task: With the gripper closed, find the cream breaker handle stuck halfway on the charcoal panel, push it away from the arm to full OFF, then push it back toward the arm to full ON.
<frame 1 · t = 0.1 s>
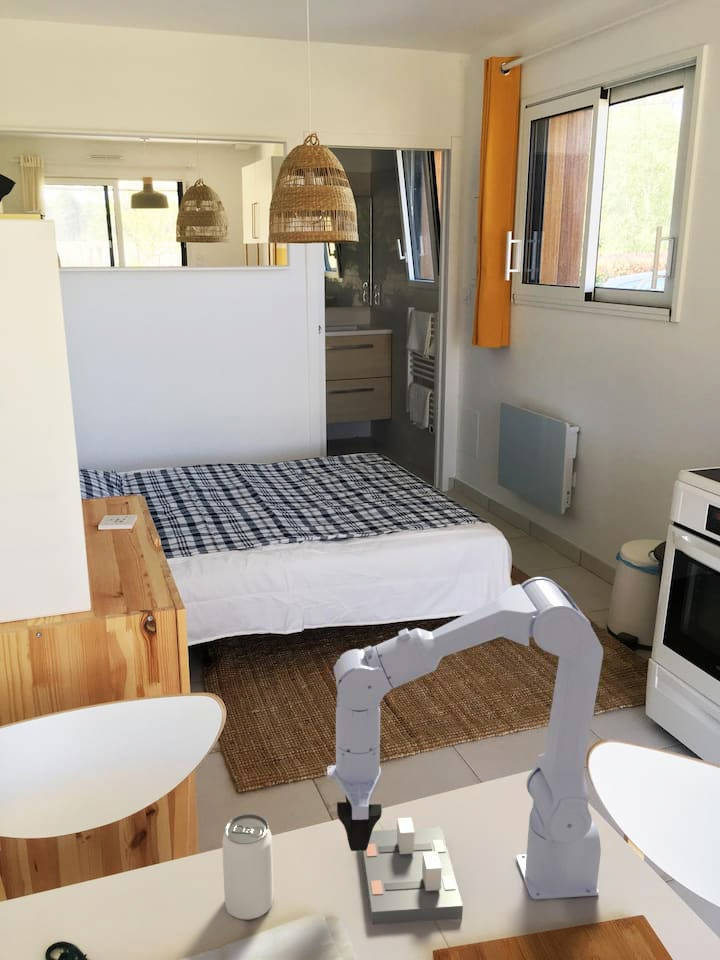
hand: (357, 828, 110), 10 cm above the table, tool pointing down, fingers open, 7 cm apart
can: (249, 903, 110), on the table
breaker tripped: (405, 835, 117), point 4 cm above the table, slide at 2.5 cm
panel: (408, 878, 115), on the table
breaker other: (431, 871, 110), point 4 cm above the table, slide at 0.0 cm
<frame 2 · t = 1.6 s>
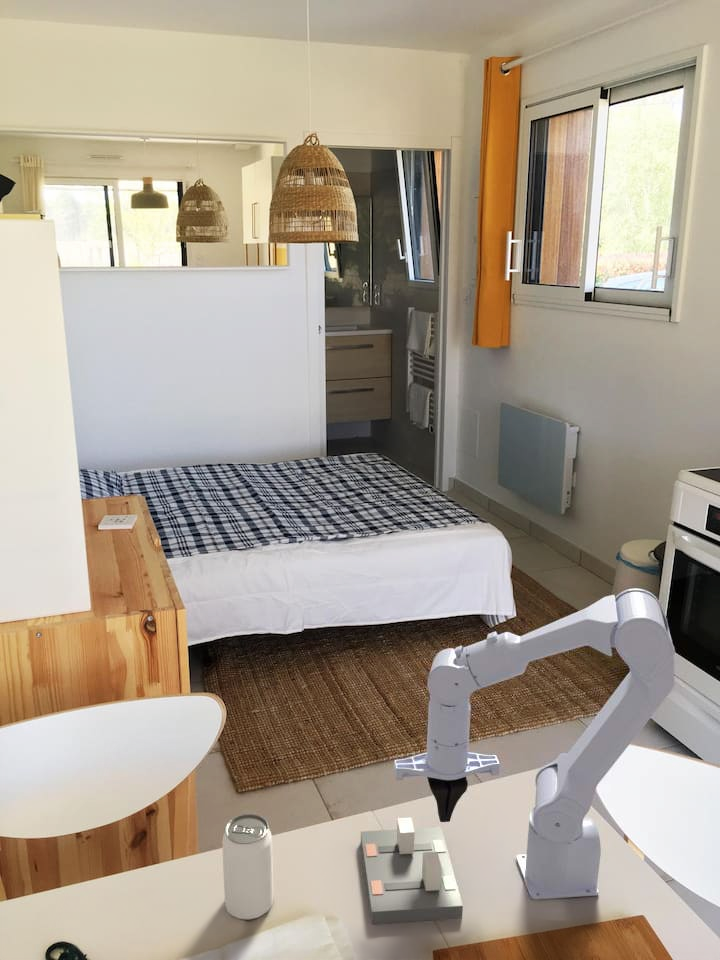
hand: (443, 817, 117), 7 cm above the table, tool pointing down, fingers closed
nothing on the table moved.
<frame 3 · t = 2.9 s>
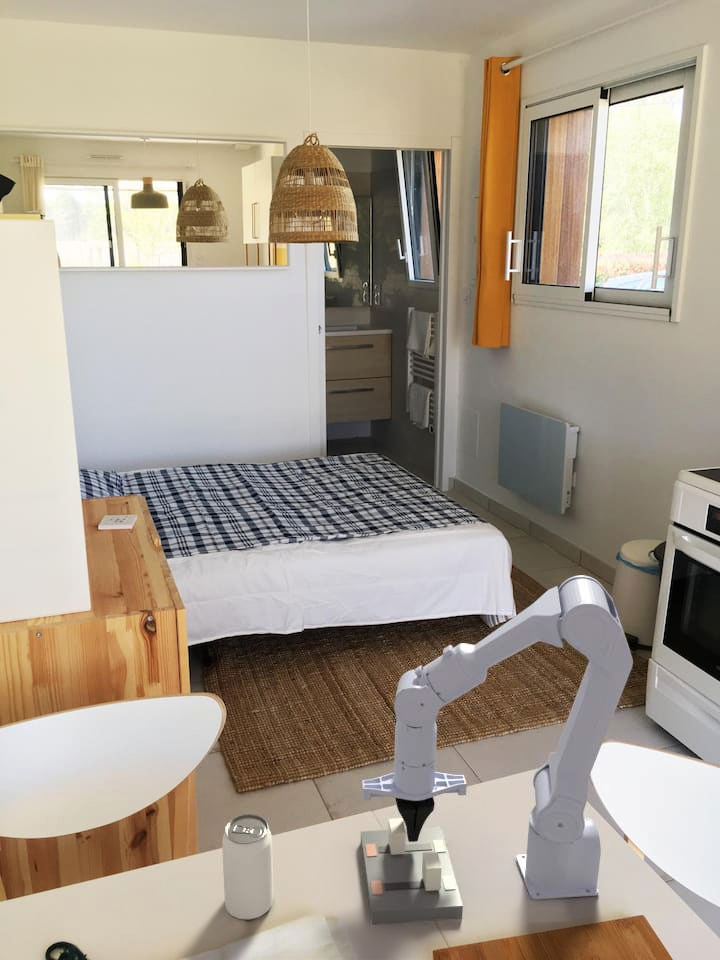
hand: (412, 836, 117), 4 cm above the table, tool pointing down, fingers closed
breaker tripped: (396, 836, 117), point 4 cm above the table, slide at 3.8 cm, touching gripper
everything else where it was.
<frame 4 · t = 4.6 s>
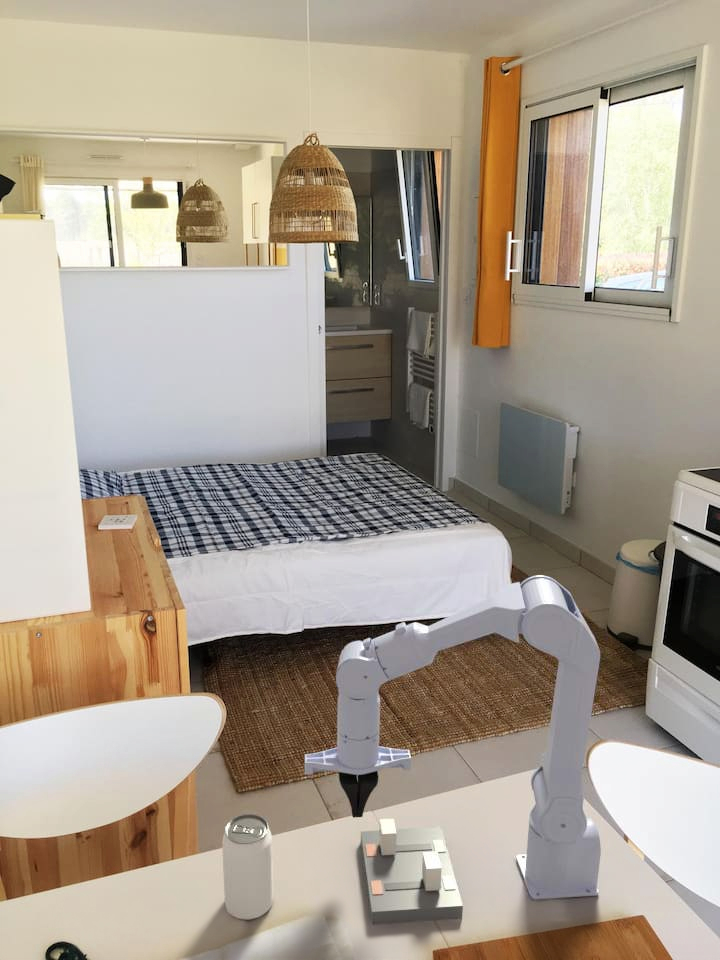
hand: (356, 812, 115), 9 cm above the table, tool pointing down, fingers closed
breaker tripped: (387, 836, 117), point 4 cm above the table, slide at 5.1 cm
everything else where it was.
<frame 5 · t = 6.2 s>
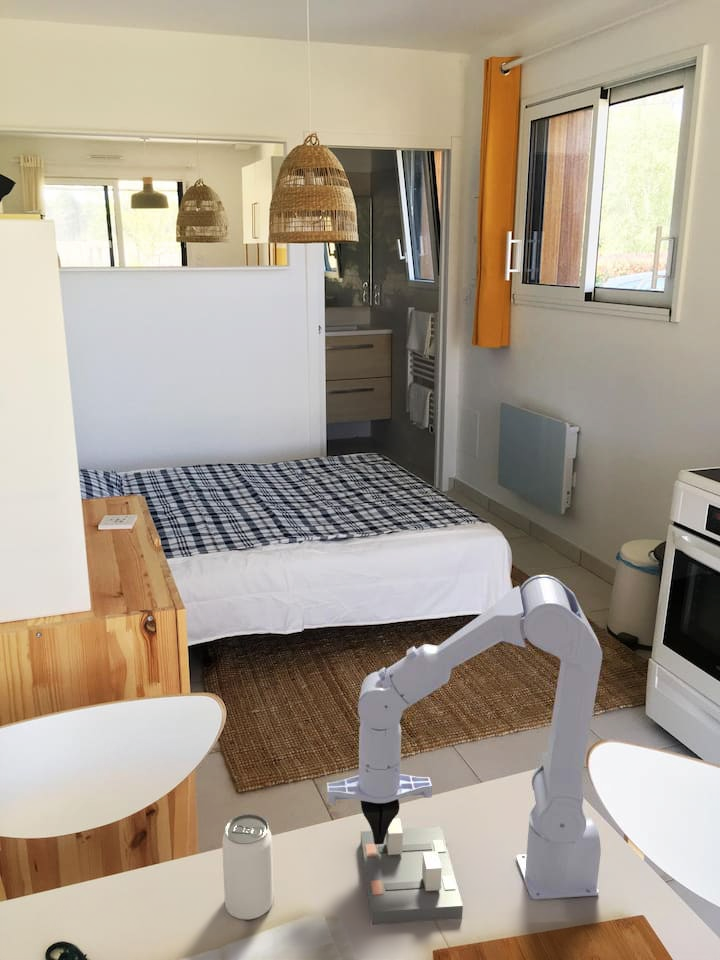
hand: (378, 839, 117), 4 cm above the table, tool pointing down, fingers closed
breaker tripped: (394, 836, 117), point 4 cm above the table, slide at 4.2 cm, touching gripper
everything else where it was.
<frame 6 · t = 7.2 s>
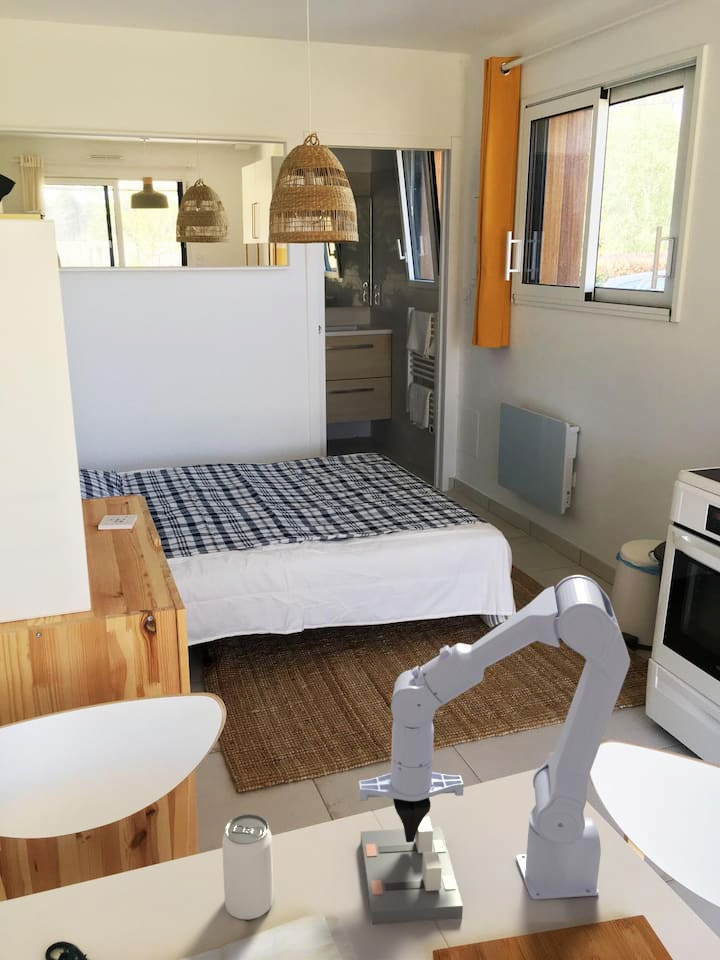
hand: (409, 837, 117), 4 cm above the table, tool pointing down, fingers closed
breaker tripped: (423, 834, 117), point 4 cm above the table, slide at -0.1 cm, touching gripper
everything else where it was.
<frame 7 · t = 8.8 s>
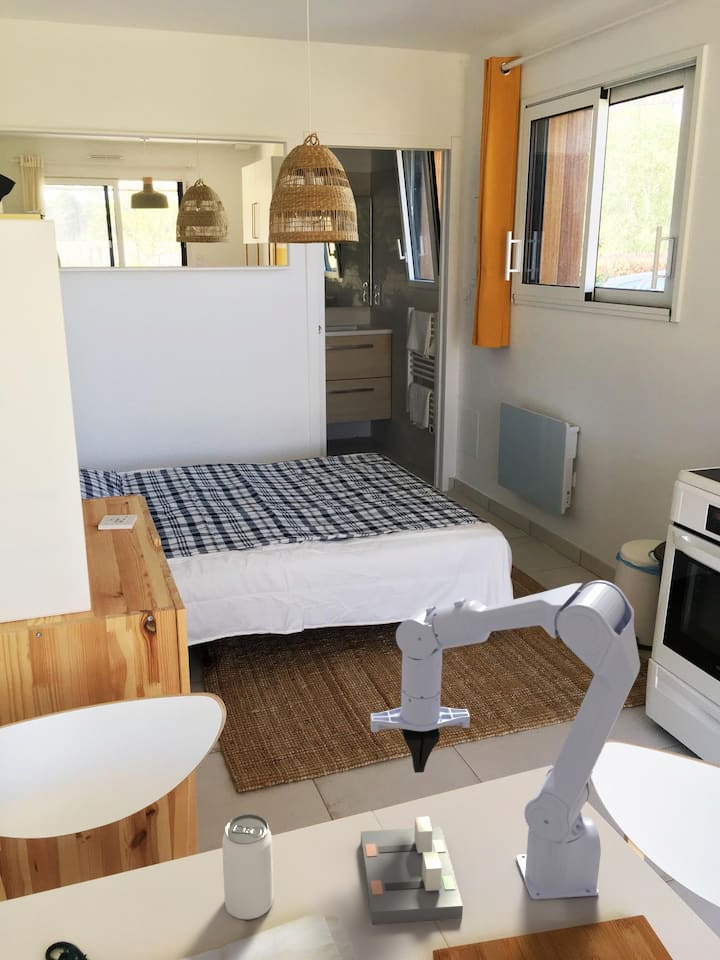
hand: (418, 768, 123), 9 cm above the table, tool pointing down, fingers closed
breaker tripped: (423, 834, 117), point 4 cm above the table, slide at -0.1 cm
everything else where it was.
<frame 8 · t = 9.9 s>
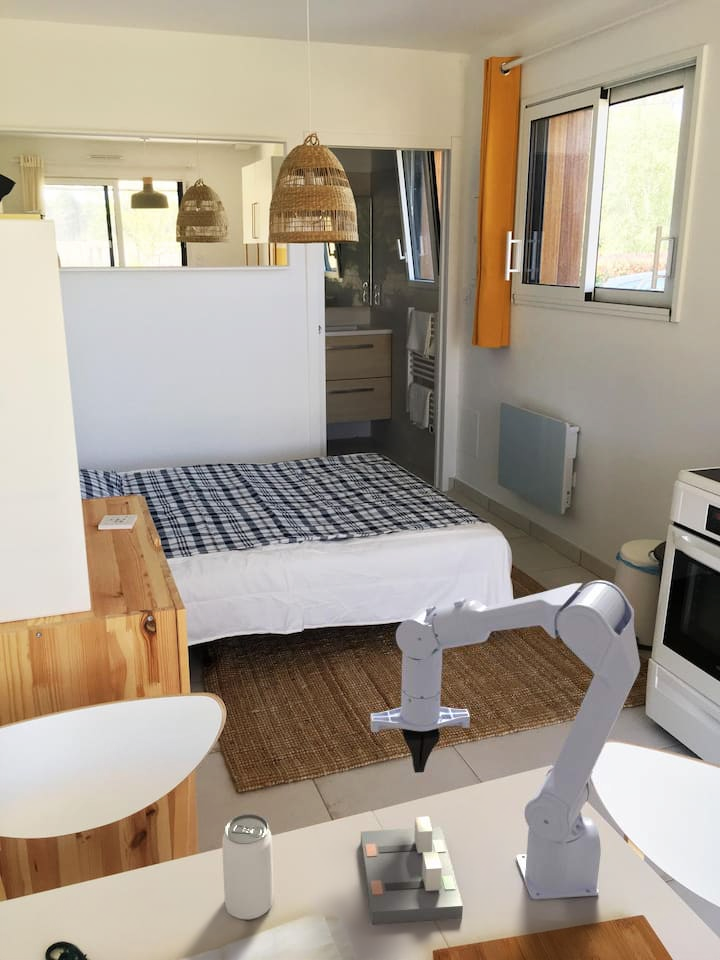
hand: (418, 768, 123), 9 cm above the table, tool pointing down, fingers closed
nothing on the table moved.
at the end: breaker tripped slide at -0.1 cm; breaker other slide at 0.0 cm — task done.
